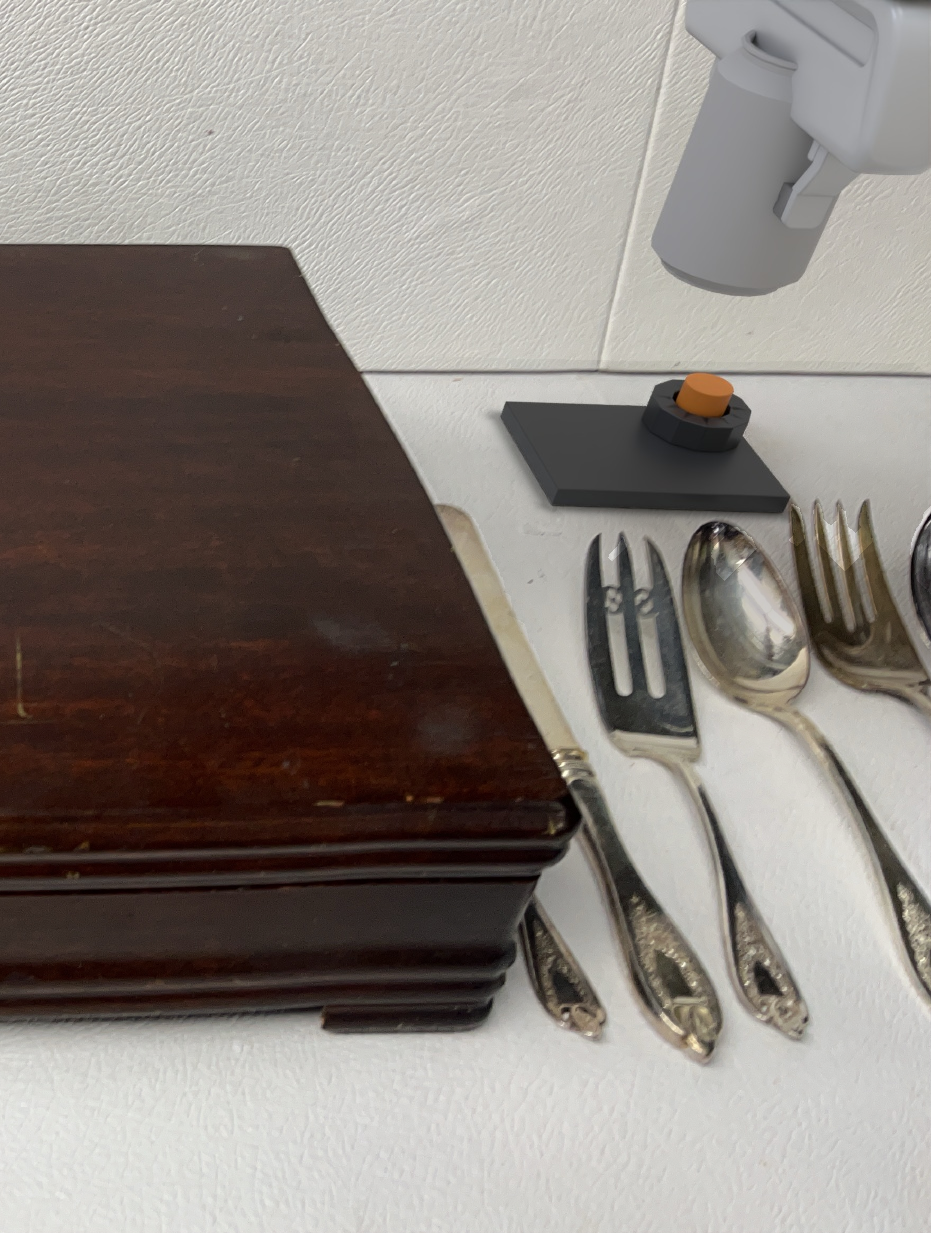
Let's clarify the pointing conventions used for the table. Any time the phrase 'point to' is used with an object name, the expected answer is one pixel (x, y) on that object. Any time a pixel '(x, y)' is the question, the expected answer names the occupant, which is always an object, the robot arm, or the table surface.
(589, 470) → the black flat block
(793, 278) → the can
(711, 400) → the button
